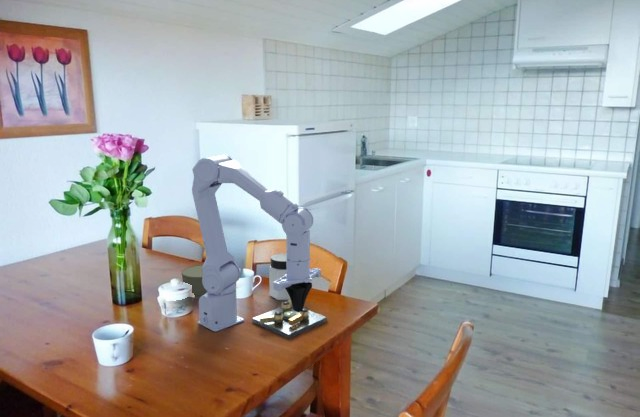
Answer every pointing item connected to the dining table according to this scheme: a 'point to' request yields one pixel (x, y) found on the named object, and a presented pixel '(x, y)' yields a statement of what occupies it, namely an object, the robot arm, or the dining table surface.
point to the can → (194, 279)
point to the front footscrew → (299, 317)
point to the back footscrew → (286, 306)
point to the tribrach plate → (284, 327)
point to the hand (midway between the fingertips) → (298, 310)
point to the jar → (278, 275)
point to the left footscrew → (272, 318)
